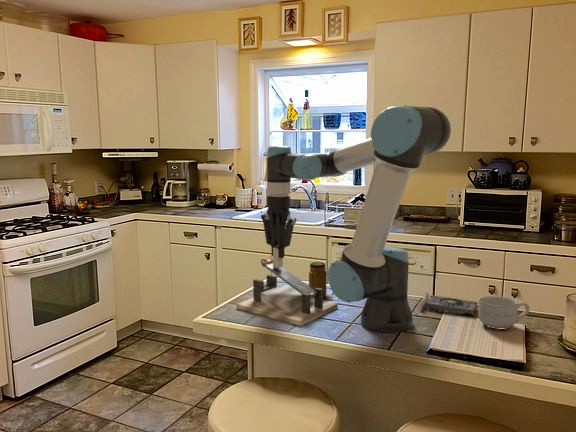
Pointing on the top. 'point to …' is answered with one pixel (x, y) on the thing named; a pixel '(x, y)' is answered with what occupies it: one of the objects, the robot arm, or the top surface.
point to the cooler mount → (285, 302)
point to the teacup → (500, 311)
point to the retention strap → (290, 279)
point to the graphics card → (448, 304)
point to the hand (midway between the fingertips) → (277, 266)
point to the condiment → (318, 278)
